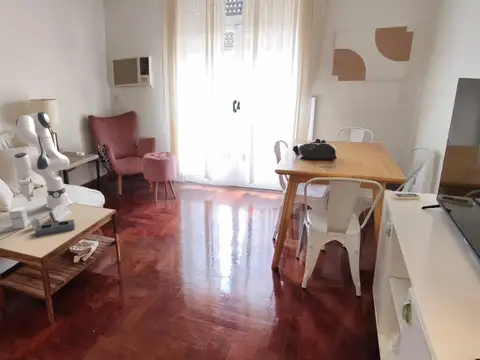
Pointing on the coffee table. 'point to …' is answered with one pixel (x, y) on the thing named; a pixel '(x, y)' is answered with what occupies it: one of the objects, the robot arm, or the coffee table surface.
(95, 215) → the coffee table surface
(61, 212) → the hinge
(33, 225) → the nut block
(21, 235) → the coffee table surface
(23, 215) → the supplement box
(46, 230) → the rail
